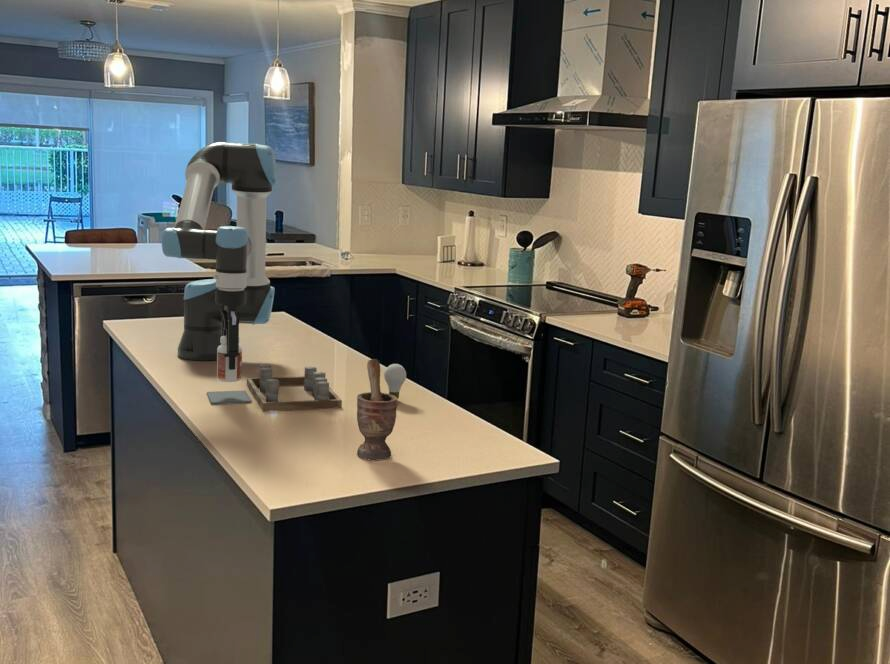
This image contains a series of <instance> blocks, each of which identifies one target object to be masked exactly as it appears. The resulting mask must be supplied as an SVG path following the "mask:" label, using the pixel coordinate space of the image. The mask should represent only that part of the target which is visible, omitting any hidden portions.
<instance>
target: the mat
mask: <svg viewBox="0 0 890 664" xmlns="http://www.w3.org/2000/svg"><path fill="white" fill-rule="evenodd" d="M206 396H207V398H208V401H209V403H210V405H211V406H213V405H235V404H236V405H237V404H252V401H253V400H252V399H251V397H250V396H249V394H248V392H247V390H222V391H219V390H218V391H216V390H215V391H206Z"/></svg>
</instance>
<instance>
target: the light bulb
mask: <svg viewBox="0 0 890 664" xmlns="http://www.w3.org/2000/svg"><path fill="white" fill-rule="evenodd" d="M406 371H407V370H405V368H404V367H403V365H401V364H399V363H392V364H389V365H388V366H387V367H386V368H385V369H384V373H383V378H384V381H385V382H386V385H387V387H388V394H391V395H394V396H396V397H397V400H399V398H400V391H401V388H402V386H403V384H404V383H405V381H406V379H407V372H406Z"/></svg>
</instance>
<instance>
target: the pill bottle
mask: <svg viewBox="0 0 890 664" xmlns="http://www.w3.org/2000/svg"><path fill="white" fill-rule="evenodd" d="M220 343H221V345H220V346H218V348H217V360H216V379H217V380H218V381H219V382H223V383H227V382H226V381H225V374H226V357H224V354H227V338H226V336H221V337H220ZM242 363H243V348H242V346H241V345H239V355H238V356H237V382H238V381H241V380H242V377H243V375H242V370H243V368H242V367H243V364H242Z"/></svg>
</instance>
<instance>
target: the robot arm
mask: <svg viewBox="0 0 890 664" xmlns="http://www.w3.org/2000/svg"><path fill="white" fill-rule="evenodd" d="M185 169H186V170H185V175H184V176H185V180H186V184H185V188H184V191H183V193H182V198H181V202H180V205H179V210H178V214H177V217H176V221H175V225H174V227H167V228H165V229H164V230H163V232H162V236H161V249H162V253H163V255H164V256H165V257H169V258H176V259H177V258H178V259H195V260H196V259H197V260H200V259H201V260H212V261H213V260H214V261H215V274H213V276H212V277H213V278H210V279H209V278H208V279H199V280H195V281H194V280H193V281H191V282H188V283H187V284H186V285H185V286H184V292H183V293H184V294H183V332H182V335H181V336H180V337H181V338H180V340H179V343H178V346H177V357H179V358H181V359H186V360H191V361H217V348H218V346H220V345H221V343H220V337H221V336H226V338H227V354H224V357H226V374H225V381H226V382H225V383H232V382H233V383H235V382H236V383H237V382H238V381H237V356H238V355H239V346H240V335H239V334H240V332H239V331H240V324H241V325H242V324H248V325H252V326H253V325H265V324H268V322H270V318H271V315H272V310H273V304H274V298H275V289H276V288H275V287H274V286H272V285H271V281H270V279H269V278H268V277H267V276H266V248H267V246H266V244H267V243H266V241H267V240H266V239H267V237H266V235H267V199H268V198H267V197H268V196H269V195H270V194H271V193H272V192H273V187H276V186H277V185H278V170H277V169H278V168H277V162H276V155H275V151H274V149H273V148H272V147H271V146H269V145H266V144H259V143H242V142H241V143H239V142H225V141H218V142H213V143H211V144H208V145H206V146H204V147H202V148H201V149H199V150H198V151H197V152H195V154H194V155H192V157H191V158H190V160H188V163H187V165H186V168H185ZM220 183H223V184H224V183H225V184H231V191H232V192H233V193H234V194H235V195H236V226H235V225H234V226H233V225H231V226H230V225H228V226H227V225H223V226H219V227H217V229H216V230H210V229H206V226H207V221H208V218H209V217H208V216H209V212H210V208H211V203H212V200H213V195H214V194H213V193H214V191H215V188H216V187H217V186H218V185H219V184H220Z"/></svg>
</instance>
